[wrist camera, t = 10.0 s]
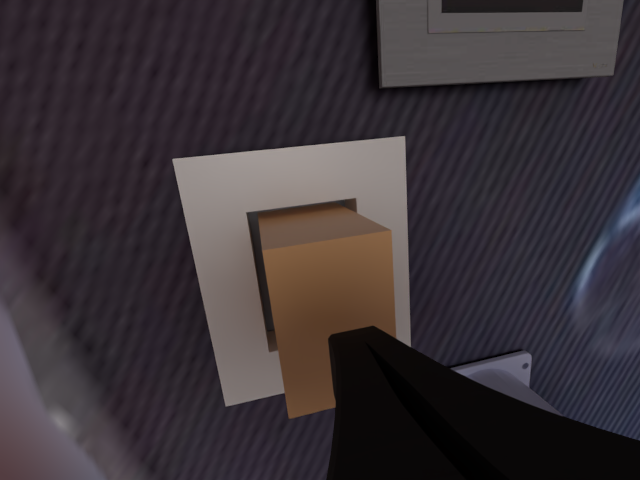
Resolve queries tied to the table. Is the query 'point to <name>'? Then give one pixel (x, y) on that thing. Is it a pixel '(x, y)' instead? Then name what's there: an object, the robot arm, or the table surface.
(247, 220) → the socket block
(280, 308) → the plug
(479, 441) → the robot arm
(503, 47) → the electrical outlet
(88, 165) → the table surface
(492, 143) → the table surface
